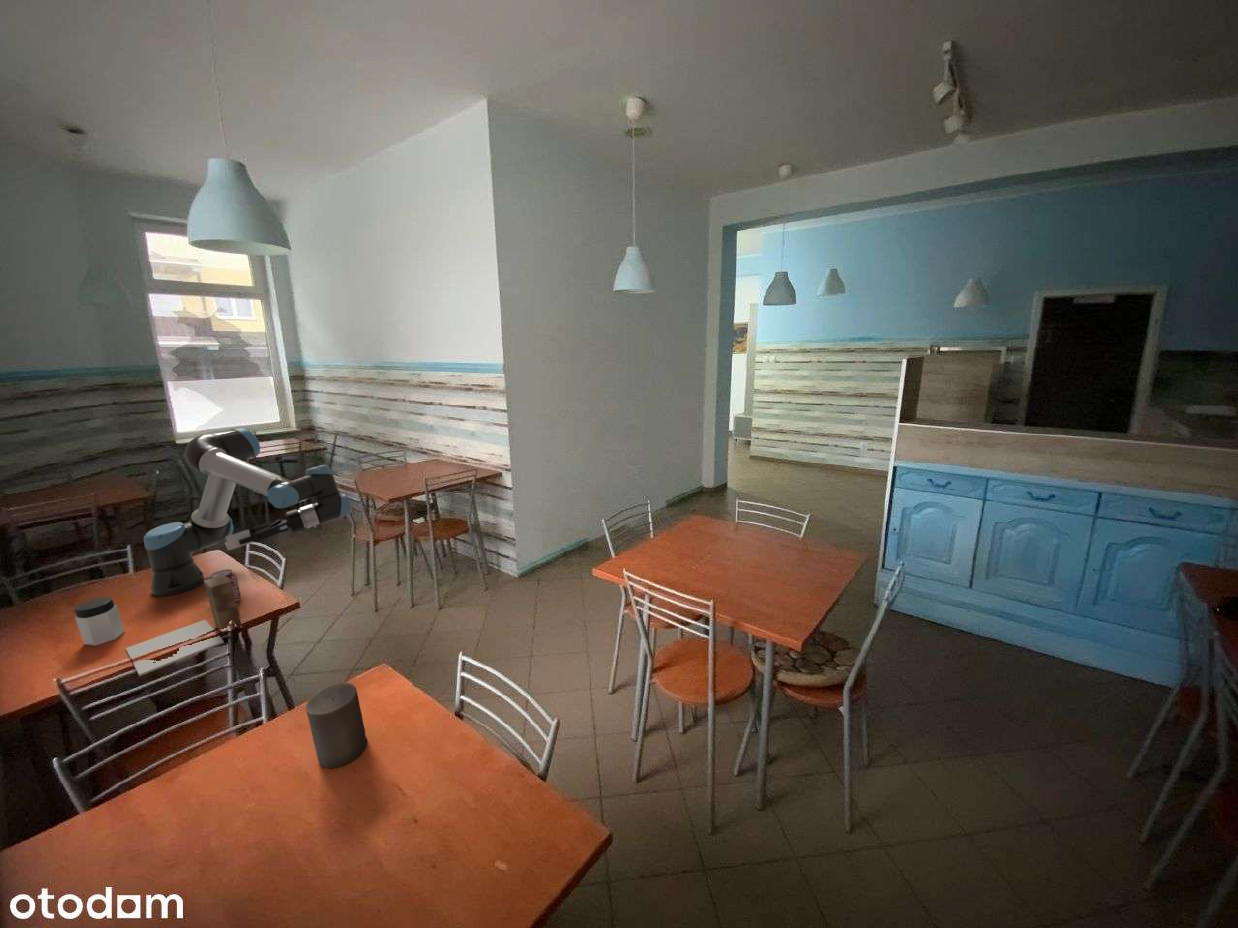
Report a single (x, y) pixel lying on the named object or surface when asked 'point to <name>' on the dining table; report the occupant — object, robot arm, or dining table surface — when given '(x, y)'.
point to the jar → (98, 621)
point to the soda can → (233, 579)
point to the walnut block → (222, 601)
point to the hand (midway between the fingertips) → (226, 543)
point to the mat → (172, 639)
